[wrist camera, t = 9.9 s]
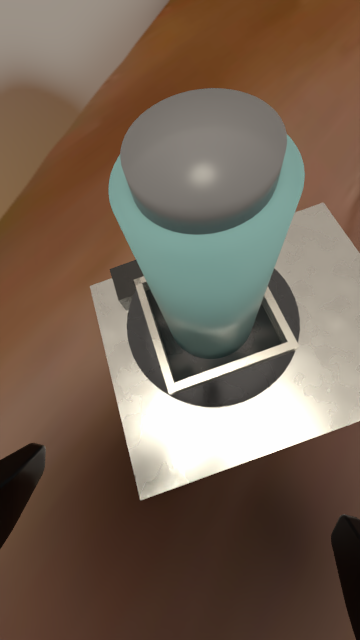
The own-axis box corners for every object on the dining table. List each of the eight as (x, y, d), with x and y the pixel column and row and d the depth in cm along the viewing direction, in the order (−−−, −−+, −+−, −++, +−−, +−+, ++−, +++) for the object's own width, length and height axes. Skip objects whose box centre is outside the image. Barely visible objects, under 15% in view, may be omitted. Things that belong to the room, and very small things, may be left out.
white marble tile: (442, 388, 19) (509, 377, 15) (143, 496, 19) (122, 517, 15) (319, 210, 26) (340, 166, 21) (94, 291, 25) (69, 263, 21)
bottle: (270, 323, 19) (369, 140, 7) (203, 376, 18) (177, 277, 6) (216, 267, 21) (216, 49, 9) (153, 312, 20) (60, 143, 8)
